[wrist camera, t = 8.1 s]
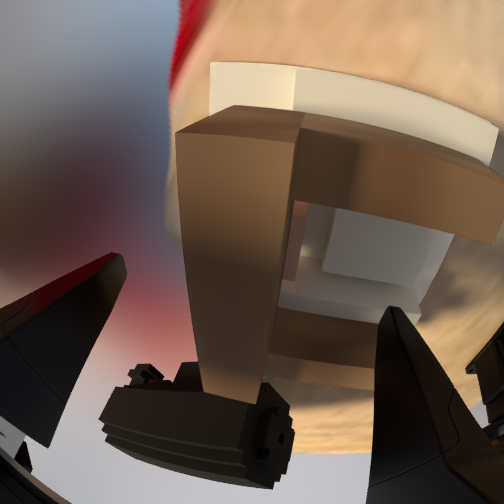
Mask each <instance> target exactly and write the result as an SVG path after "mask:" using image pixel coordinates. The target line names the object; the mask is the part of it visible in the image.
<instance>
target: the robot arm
mask: <svg viewBox="0 0 504 504" xmlns="http://www.w3.org/2000/svg"><path fill="white" fill-rule="evenodd" d="M126 277H127V270H126V266H125V262H124V259H123V256H122V255H121V254H119V253H115V252H111V253H108V254H106V255H104V256H102V257H100V258H98V259H96V260H94V261H92V262H90V263H88V264H86V265H84V266H82V267H80V268H78V269H76V270H74V271H72V272H70V273H68V274H66V275H64V276H62V277H60V278H58V279H56V280H54V281H52V282H51V283H48V284H47V285H44V286H43V287H41V288H39V289H37V290H35V291H33V293H29V294H28V295H26V296H24V297H22V298H20V299H18V300H16V301H15V302H13V303H11V304H8V305H6V306H4V307H2V308H0V504H71V503H70V502H68V501H67V500H65V499H64V498H62V497H61V496H59V495H58V494H57V493H55V492H54V491H52V490H51V489H50V488H48V487H47V486H46V485H44V484H43V483H42V482H40V481H39V480H38V479H37V478H35V477H34V476H33V475H32V474H31V472H32V469H33V468H32V465H31V461H30V457H29V453H28V448H27V444H26V442H25V441H24V438H25V436H26V435H27V436H29V437H30V438H32V439H33V440H35V441H36V442H38V443H40V444H41V445H43V446H44V447H46V448H49V446H50V444H51V441H52V439H53V436H54V433H55V431H56V428H57V426H58V423H59V420H60V418H61V416H62V413H63V411H64V409H65V406H66V403H67V401H68V399H69V396H70V394H71V392H72V390H73V388H74V386H75V383H76V381H77V379H78V377H79V375H80V373H81V370H82V368H83V366H84V364H85V362H86V360H87V358H88V356H89V354H90V352H91V350H92V348H93V346H94V344H95V342H96V340H97V338H98V336H99V334H100V332H101V331H102V329H103V327H104V325H105V323H106V321H107V319H108V317H109V315H110V313H111V312H112V309H113V307H114V305H115V302H116V300H117V298H118V295H119V293H120V291H121V289H122V286H123V284H124V282H125V280H126ZM465 370H466V373H467V374H477V377H478V381H479V386H480V391H481V396H482V401H483V404H484V405H486V410H487V416H488V423H489V425H488V426H486V427H484V428H481V427H480V425H479V424H478V422H477V421H476V420H475V418H474V417H473V415H472V414H471V412H470V411H469V409H468V408H467V406H466V404H465V403H464V401H463V400H462V398H461V396H460V395H459V393H458V392H457V390H456V388H454V385H453V384H452V382H451V380H450V379H449V377H448V376H447V374H446V372H445V371H444V369H443V368H442V366H441V365H440V363H439V362H438V360H437V359H436V357H435V356H434V354H433V353H432V351H431V350H430V348H429V347H428V345H427V344H426V342H425V341H424V339H423V338H422V337H421V335H420V334H419V332H418V331H417V329H416V328H415V327H414V325H413V324H412V322H411V321H410V320H409V318H408V317H407V315H406V314H405V313H404V311H403V310H402V309H401V308H400V307H397V306H388V307H387V308H386V310H385V312H384V314H383V316H382V318H381V319H380V321H379V324H378V328H377V343H376V356H375V367H374V422H373V441H372V455H371V466H370V476H369V486H368V492H367V499H366V504H504V323H503V324H502V325H501V327H500V328H499V329H498V331H497V332H496V333H495V334H494V336H493V337H492V338H491V339H490V341H489V342H488V343H487V344H486V345H485V347H484V348H483V349H482V350H481V351H480V352H479V354H478V355H477V356H476V357H475V358H474V359H473V360H472V361H471V363H470V364H469V365H468V366H467V367H466V368H465ZM490 423H491V424H490Z"/></svg>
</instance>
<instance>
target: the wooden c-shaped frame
mask: <svg viewBox="0 0 504 504" xmlns="http://www.w3.org/2000/svg"><path fill="white" fill-rule="evenodd" d="M233 105H243V106H256V107H267V108H276V109H285V110H292V111H300V112H307V113H313V114H319V115H325V116H331V117H336V118H341V119H346V120H351V121H356V122H361V123H365V124H369V125H374V126H378V127H382V128H386V129H390V130H393V131H397V132H401V133H404V134H408V135H411V136H414V137H418V138H421V139H424V140H427V141H430V142H433V143H436V144H439V145H442V146H445V147H448V148H451V149H454V150H456V151H459V152H462V153H464V154H467V155H469V156H472V157H474V158H477V159H478V160H480V161H481V162H482V163H484V164H485V165H486V166H488V167H489V165H490V161H491V158H492V154H493V151H494V147H495V143H496V139H497V135H498V131H499V128H498V127H496V126H494V125H492V124H491V122H489V121H487V120H485V119H483V118H481V117H479V116H476V115H474V114H472V113H470V112H467V111H465V110H463V109H460V108H458V107H455V106H453V105H450V104H448V103H445V102H443V101H440V100H437V99H435V98H432V97H429V96H426V95H423V94H420V93H417V92H414V91H411V90H407V89H404V88H401V87H397V86H394V85H390V84H386V83H383V82H379V81H375V80H371V79H366V78H362V77H357V76H353V75H348V74H343V73H337V72H332V71H326V70H319V69H312V68H305V67H297V66H288V65H277V64H264V63H244V62H211V69H210V106H209V116H210V115H212V114H215V113H217V112H219V111H221V110H223V109H226V108H228V107H230V106H233ZM454 236H455V235H454V234H450V233H447V232H443V231H439V230H435V229H431V228H427V227H423V226H419V225H414V224H410V223H406V222H401V221H397V220H393V219H388V218H384V217H379V216H374V215H370V214H365V213H360V212H355V211H350V210H345V209H340V208H334V207H329V206H324V205H318V204H313V203H307V202H301V201H294V208H293V214H292V221H291V228H290V234H289V241H288V247H287V254H286V260H285V266H284V272H283V278H282V284H281V290H280V296H279V302H278V307H280V308H285V309H291V310H296V311H302V312H307V313H313V314H319V315H325V316H331V317H337V318H343V319H350V320H356V321H363V322H370V323H377V324H379V321H380V319H381V318H382V316H383V314H384V312H385V310H386V308H387V307H388V306H397V307H400V308H401V309H402V310H403V311H404V313H405V314H406V315H407V317H408V318H409V320H410V321H411V322H412V324H413V325H414V326H415V325H416V323H417V321H418V320H419V318H420V317H421V315H422V314H421V310H420V306H419V305H420V303H421V302H422V300H423V298H424V296H425V294H426V293H427V291H428V289H429V287H430V285H431V283H432V281H433V280H434V278H435V276H436V274H437V272H438V270H439V268H440V266H441V264H442V262H443V260H444V257H445V255H446V253H447V251H448V249H449V247H450V245H451V242H452V240H453V238H454Z"/></svg>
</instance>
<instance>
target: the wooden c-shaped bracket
mask: <svg viewBox="0 0 504 504" xmlns="http://www.w3.org/2000/svg"><path fill="white" fill-rule="evenodd" d="M175 142H176V165H177V183H178V198H179V211H180V223H181V234H182V245H183V254H184V264H185V272H186V281H187V289H188V297H189V304H190V311H191V318H192V324H193V332H194V338H195V344H196V351H197V357H198V362H199V368H200V374H201V379H202V385H203V390H204V392H207V393H211V394H214V395H218V396H222V397H226V398H230V399H234V400H239V401H243V402H247V403H252V404H256V401H257V397H258V393H259V389H260V385H261V381H262V377H263V375H267V376H272V377H278V378H283V379H289V380H295V381H301V382H307V383H314V384H320V385H328V386H336V387H344V388H353V389H363V390H374V367H375V356H376V343H377V328H378V324H377V323H370V322H363V321H356V320H350V319H343V318H337V317H331V316H325V315H319V314H313V313H307V312H302V311H296V310H291V309H285V308H280V307H278V302H279V296H280V290H281V284H282V278H283V272H284V266H285V260H286V254H287V247H288V241H289V234H290V228H291V221H292V214H293V208H294V201H301V202H307V203H313V204H318V205H324V206H329V207H334V208H340V209H345V210H350V211H355V212H360V213H365V214H370V215H374V216H379V217H384V218H388V219H393V220H397V221H401V222H406V223H410V224H414V225H419V226H423V227H427V228H431V229H435V230H439V231H443V232H447V233H450V234H454V235H458V236H462V237H465V238H469V239H473V240H476V241H480V242H483V243H487V244H490V245H492V243H493V241H494V239H495V237H496V235H497V233H498V231H499V228H500V226H501V224H502V221H503V219H504V179H502V178H501V177H500V176H499V175H498V174H496V173H495V172H494V171H493V170H491V169H490V168H489V167H488V166H486V165H485V164H484V163H482V162H481V161H480V160H478V159H477V158H474V157H472V156H469V155H467V154H464V153H462V152H459V151H456V150H454V149H451V148H448V147H445V146H442V145H439V144H436V143H433V142H430V141H427V140H424V139H421V138H418V137H414V136H411V135H408V134H404V133H401V132H397V131H393V130H390V129H386V128H382V127H378V126H374V125H369V124H365V123H361V122H356V121H351V120H346V119H341V118H336V117H331V116H325V115H319V114H313V113H307V112H300V111H292V110H285V109H276V108H267V107H256V106H243V105H233V106H230V107H228V108H226V109H223V110H221V111H219V112H217V113H215V114H212V115H210V116H208V117H206V118H204V119H202V120H200V121H197V122H195V123H193V124H191V125H189V126H187V127H185V128H183V129H181V130H179V131H177V132H176V133H175Z"/></svg>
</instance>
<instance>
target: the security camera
mask: <svg viewBox="0 0 504 504" xmlns="http://www.w3.org/2000/svg"><path fill="white" fill-rule="evenodd" d="M128 376H129V377H131V378H132V380H131V382H130V384H129V385H124V387H115V389H114V391H113V393H112V394H111V397H110V398H109V400H108V402H107V404H106V406H105V408H104V410H103V412H102V414H101V416H100V418H99V420H100V421H101V422H103V423H104V427H103V428H102V431H103V432H105V433H106V434H108V435H107V437H106V439H105V442H107V443H109V444H110V445H112V446H114V447H115V448H117V449H119V450H121V451H122V452H124V453H126V454H128V455H129V456H131V457H133V458H135V459H138V460H141V461H144V462H146V463H149V464H153V465H156V466H159V467H162V468H165V469H169V470H172V471H175V472H179V473H183V474H187V475H191V476H195V477H199V478H204V479H208V480H213V481H217V482H223V483H228V484H235V485H241V486H247V487H255V488H263V489H273V487H274V482H280V478H281V474H286V471H287V467H288V462H289V461H290V457H291V452H292V446H293V441H294V436H295V432H294V431H295V430H293V429H292V428H291V426H292V421H293V419H292V418H291V417H290V416H289V410H290V405H289V404H288V403H287V402H286V401H285V400H284V399H283V398H282V397H281V396H280V395H279V394H278V393H277V392H276V390H275V389H274V388H273V387H272V386H271V385H270V384H269V383H261V385H260V389H259V393H258V397H257V401H256V404H252V403H247V402H243V401H239V400H234V399H230V398H226V397H222V396H218V395H214V394H211V393H207V392H204V390H203V385H202V379H201V374H200V368H199V362H183V363H181V366H180V368H179V370H178V372H177V375H176V377H175V379H174V381H173V383H172V382H171V381H170V380H163V378H164V376H163V375H162V374H161V373H160V372H159V371H158V370H157V369H156V368H155V367H153V366H152V365H151V364H137V366H136V368H135V369H131V370H130V371H129V373H128Z"/></svg>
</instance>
